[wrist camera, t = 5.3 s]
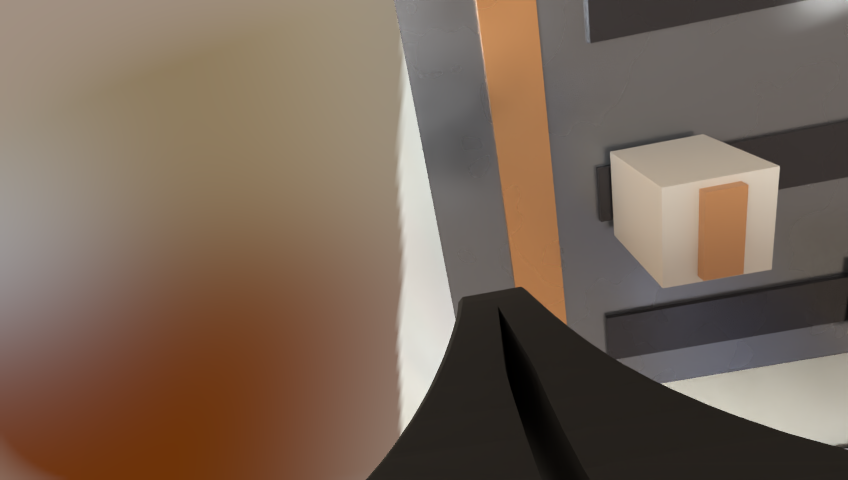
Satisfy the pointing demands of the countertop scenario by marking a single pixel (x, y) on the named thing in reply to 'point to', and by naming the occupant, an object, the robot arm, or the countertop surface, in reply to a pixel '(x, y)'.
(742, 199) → the block
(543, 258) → the breaker panel
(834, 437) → the countertop surface
